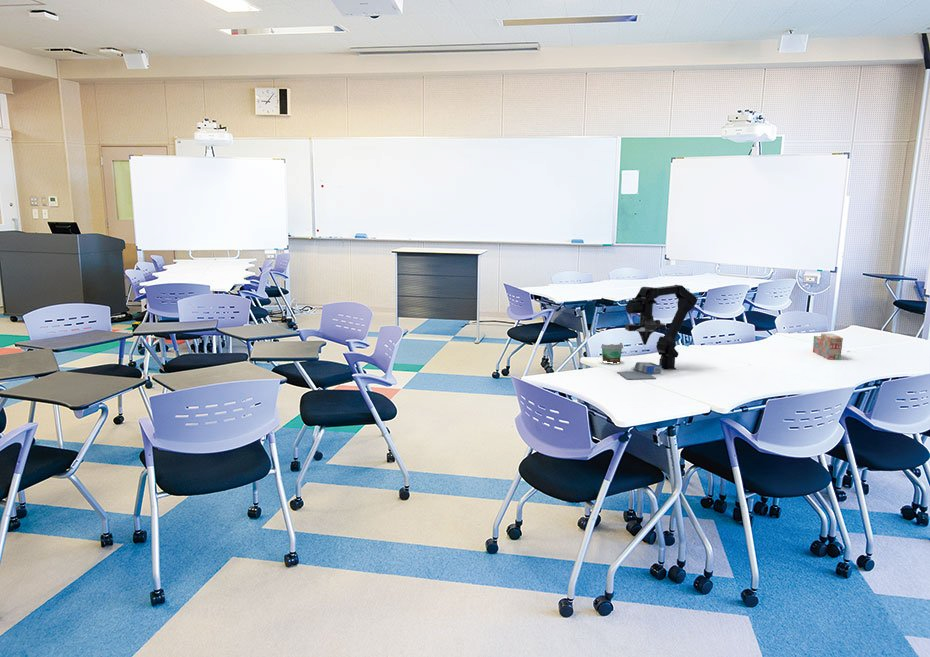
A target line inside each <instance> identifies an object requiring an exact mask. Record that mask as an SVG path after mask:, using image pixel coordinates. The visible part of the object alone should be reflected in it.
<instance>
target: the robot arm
mask: <svg viewBox="0 0 930 657" xmlns="http://www.w3.org/2000/svg"><path fill="white" fill-rule="evenodd" d="M668 295H669V296H670V295H674V296H675V297H676V299H677V310H676V312H675V314H674V316H673V318H672V320H671V323H670V324H669V327H668V329H667V325H666V324H665V323H662V322H661V320H660V319H656V320H655V319H654V315H653V310H654V304H655V305H656V304H658V303H657V302H658V301H656V300H655V299H657V298H659V297H660V296H668ZM697 301H698V299H697V296H696V295H695V294H693V293H692V292H691V291H689V290H688V289H686V287H684V286H683V285H682V284H681V285H680V284H674V285H668V286H667V285H666V286H661V287H652V286H641V287H640V289H639V291H638V293H637V294H636V296H635V297H634V298H633V299H629V300H628V301H627V303H626V305H625V312H626V313H627V314H628V315H633V314H635V315H636V314H638V317H639V322H638V325H636V324H634V323H626V324H625V326H624V330H625V331H628V332H638V333H639V335H640V338H641V341H642V344H643V346H645V345H647V343H648V340H649V339H650V337H651V335H652V334H653V333H655V331H656V330H659V331H660V332H661V331H664V332H665V331H666V333H665V334H664V336H659V338H658V341H657V342H656V351H657V353H658V355H660V358H659V360H658V362H659V364H658V365H660V366H662V368H661V370H677V368H676V367H675V366H676V365H675V364H676V358H678V356H679V352H678V351H677V350H676V344H677V343H676V338H677V336H678V334H679V332H680V329H681V327H682V326H683V324H684V320H685V319H686V316H687V314H688V313H689V312H690V311H692V310H693V309H694V307H695V306H696V304H697V303H698V302H697Z"/></svg>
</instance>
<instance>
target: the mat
mask: <svg viewBox="0 0 930 657" xmlns="http://www.w3.org/2000/svg"><path fill="white" fill-rule="evenodd" d="M616 373H617V374H618V375H619V374H620V376H621V377H622V378H623V379H625V380H627V381H633V380H635V381H636V380H640V381H641V380H657V377H656V376H653V374H651V373H644V372H641V371H639V370H636V371H635V370H633V371H631V370H630V371H627V370H626V371H616Z"/></svg>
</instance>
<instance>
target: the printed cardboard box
mask: <svg viewBox="0 0 930 657" xmlns="http://www.w3.org/2000/svg"><path fill="white" fill-rule="evenodd" d="M843 340H844V337H841V336H839V335H837V334H835V333H820V335H814V336H813V344H812V345H813V346H812V353H814V354H816V355H818V356H820V357H822V358H823V359H826V360H828V361H841V357H842V348H843Z"/></svg>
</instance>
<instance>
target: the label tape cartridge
mask: <svg viewBox="0 0 930 657" xmlns="http://www.w3.org/2000/svg"><path fill="white" fill-rule="evenodd" d="M632 369H633V370H636V371H641V372H644V373H649V374H661V373H662V366H660V365H659V364H657V363H653V362H647V361H646V362H643V361H641V362H640V361H639V362H636V363H635V364H634V367H632Z"/></svg>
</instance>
